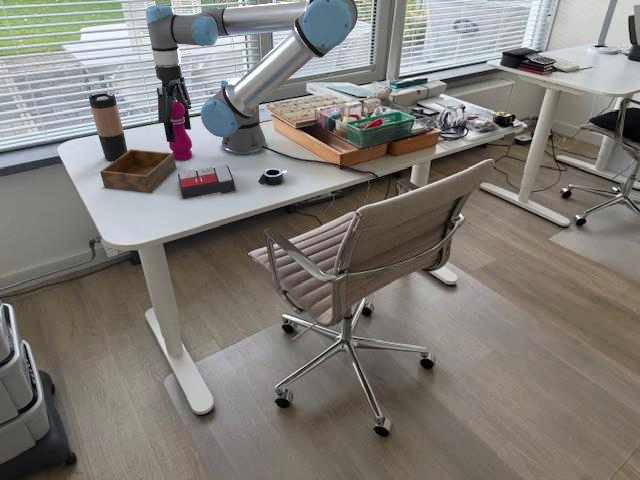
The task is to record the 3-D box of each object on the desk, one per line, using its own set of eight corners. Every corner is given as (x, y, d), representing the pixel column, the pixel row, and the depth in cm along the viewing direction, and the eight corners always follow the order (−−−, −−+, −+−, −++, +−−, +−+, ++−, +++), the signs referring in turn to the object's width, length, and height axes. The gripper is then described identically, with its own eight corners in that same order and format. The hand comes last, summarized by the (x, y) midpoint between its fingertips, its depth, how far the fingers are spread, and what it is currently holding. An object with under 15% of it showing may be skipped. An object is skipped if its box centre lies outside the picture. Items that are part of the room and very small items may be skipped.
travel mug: (106, 163, 148) (89, 102, 137) (103, 155, 153) (87, 95, 142) (131, 159, 151) (116, 98, 140) (127, 151, 156) (113, 92, 145)
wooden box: (176, 168, 146) (173, 153, 143) (150, 193, 132) (146, 176, 129) (134, 164, 148) (130, 149, 145) (104, 188, 134) (99, 171, 131)
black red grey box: (177, 171, 136) (227, 162, 140) (180, 184, 138) (229, 175, 142) (180, 187, 127) (233, 178, 131) (183, 201, 130) (235, 191, 134)
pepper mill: (196, 153, 156) (188, 94, 144) (189, 162, 150) (180, 101, 138) (176, 152, 156) (165, 93, 145) (168, 161, 150) (157, 100, 139)
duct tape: (292, 185, 138) (291, 176, 136) (259, 188, 136) (258, 179, 134) (286, 173, 144) (286, 165, 142) (254, 177, 142) (254, 168, 140)
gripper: (173, 54, 146) (184, 122, 159) (136, 73, 127) (151, 148, 140) (195, 56, 145) (204, 123, 157) (161, 75, 126) (174, 150, 139)
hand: (179, 135), depth 149 cm, fingers open, 11 cm apart
